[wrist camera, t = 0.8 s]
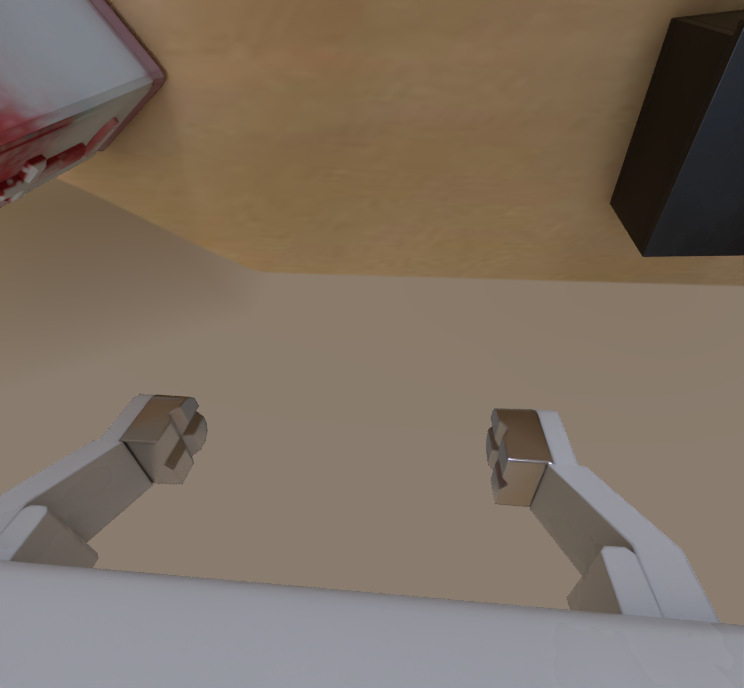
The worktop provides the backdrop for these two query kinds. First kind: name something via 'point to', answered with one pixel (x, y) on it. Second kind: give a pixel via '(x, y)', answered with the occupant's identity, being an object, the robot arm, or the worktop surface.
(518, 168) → the worktop surface
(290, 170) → the worktop surface
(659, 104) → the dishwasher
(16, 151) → the bottle
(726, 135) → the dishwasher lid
